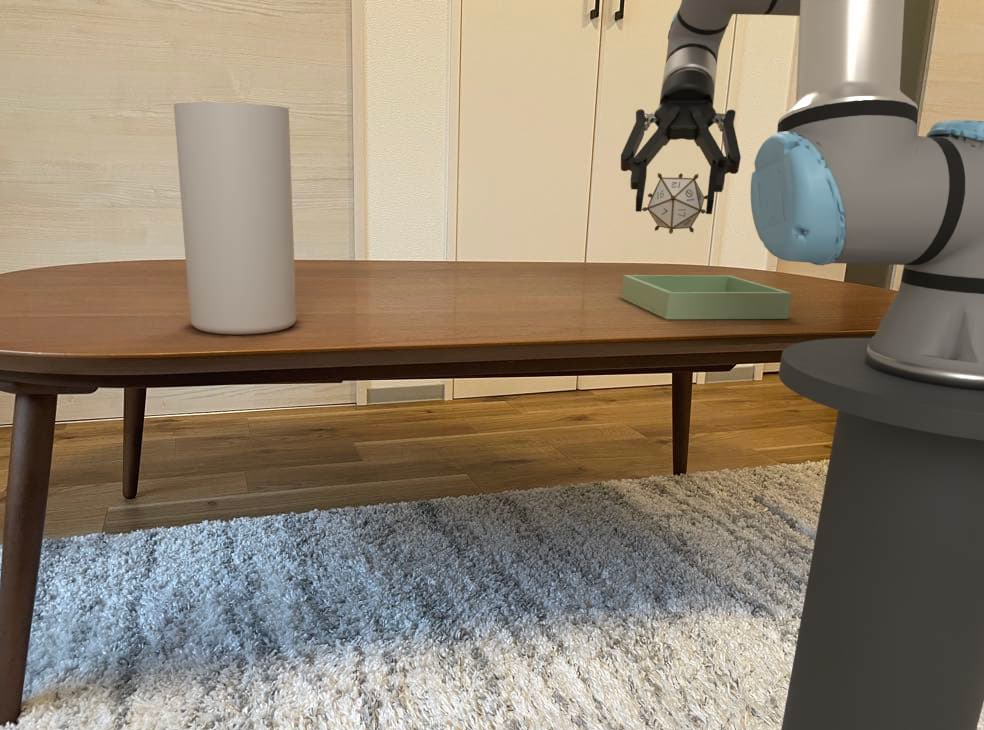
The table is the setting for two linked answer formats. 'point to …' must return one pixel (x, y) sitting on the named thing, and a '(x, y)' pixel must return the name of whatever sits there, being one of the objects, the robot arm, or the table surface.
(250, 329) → the cylinder vase
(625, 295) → the tray
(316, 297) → the table surface
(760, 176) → the robot arm
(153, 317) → the table surface
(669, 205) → the game die
